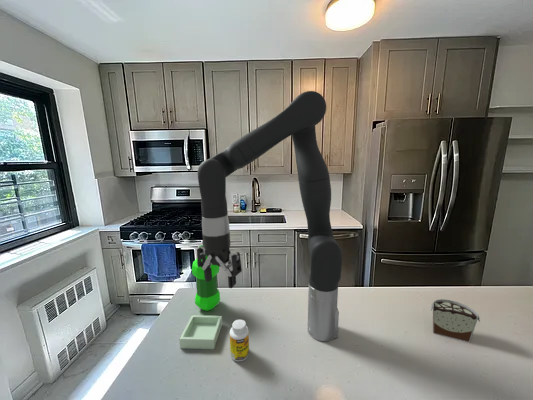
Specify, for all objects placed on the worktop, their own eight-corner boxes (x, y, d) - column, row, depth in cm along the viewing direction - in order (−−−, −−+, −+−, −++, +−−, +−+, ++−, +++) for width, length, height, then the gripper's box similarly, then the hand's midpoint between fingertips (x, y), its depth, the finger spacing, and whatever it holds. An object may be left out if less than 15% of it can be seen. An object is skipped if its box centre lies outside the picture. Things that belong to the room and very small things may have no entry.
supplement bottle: (235, 366, 64) (234, 334, 62) (227, 352, 68) (226, 322, 67) (252, 356, 67) (252, 325, 65) (243, 344, 71) (242, 314, 70)
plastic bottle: (211, 295, 97) (207, 239, 93) (226, 305, 90) (224, 246, 86) (189, 307, 90) (185, 246, 85) (205, 319, 83) (200, 254, 78)
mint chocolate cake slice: (468, 330, 76) (473, 303, 74) (475, 344, 70) (480, 315, 69) (424, 320, 81) (427, 294, 79) (427, 332, 75) (431, 305, 74)
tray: (222, 324, 80) (221, 315, 79) (214, 349, 70) (213, 339, 69) (192, 323, 80) (191, 315, 80) (180, 348, 70) (179, 338, 69)
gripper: (244, 229, 64) (247, 282, 67) (205, 224, 71) (209, 273, 74) (228, 238, 58) (232, 296, 61) (187, 231, 64) (192, 284, 67)
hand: (220, 283), depth 67 cm, fingers open, 8 cm apart
